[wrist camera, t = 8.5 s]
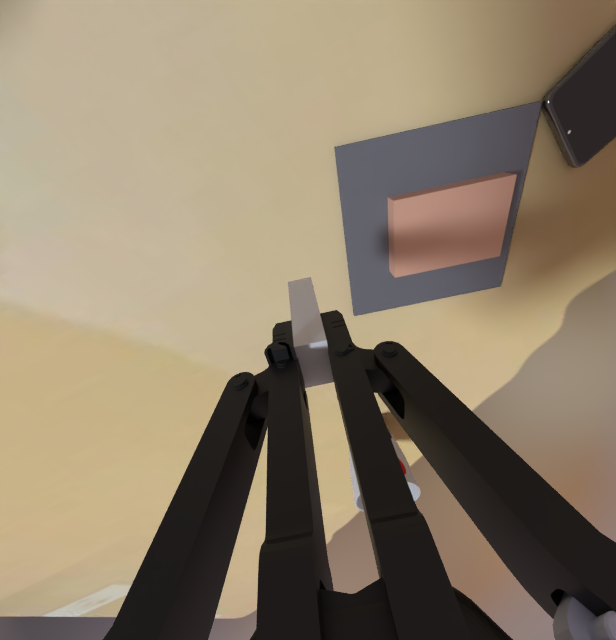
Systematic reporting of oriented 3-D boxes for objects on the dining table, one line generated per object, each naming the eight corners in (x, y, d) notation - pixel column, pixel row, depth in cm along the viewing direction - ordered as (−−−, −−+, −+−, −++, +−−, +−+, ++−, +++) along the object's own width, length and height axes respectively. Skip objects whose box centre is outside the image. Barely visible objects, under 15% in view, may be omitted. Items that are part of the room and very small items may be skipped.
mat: (334, 147, 22) (335, 147, 22) (537, 101, 21) (541, 101, 21) (353, 314, 31) (354, 315, 30) (498, 284, 30) (500, 286, 30)
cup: (403, 423, 43) (433, 493, 34) (364, 449, 46) (382, 519, 37) (369, 402, 39) (393, 473, 31) (329, 431, 42) (341, 503, 34)
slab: (393, 200, 23) (516, 174, 22) (387, 197, 24) (503, 172, 24) (394, 277, 27) (499, 256, 26) (389, 271, 28) (489, 250, 28)
